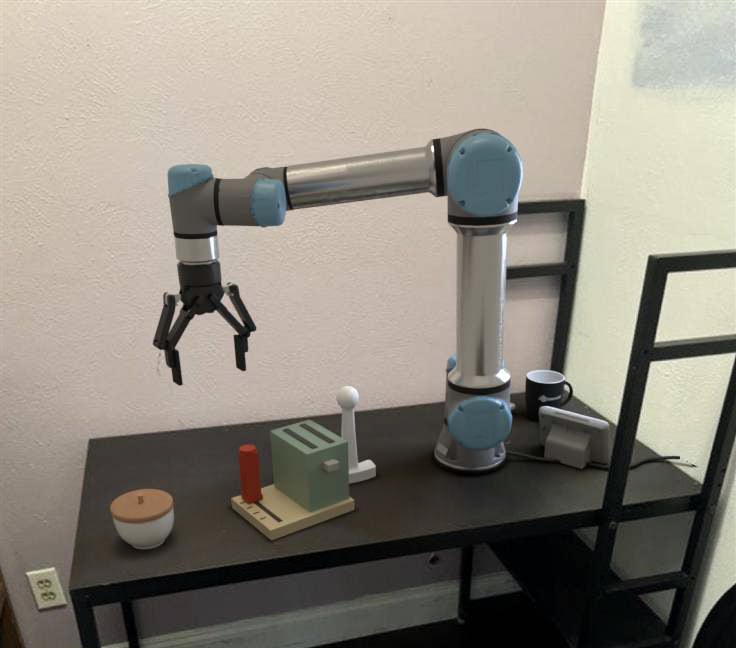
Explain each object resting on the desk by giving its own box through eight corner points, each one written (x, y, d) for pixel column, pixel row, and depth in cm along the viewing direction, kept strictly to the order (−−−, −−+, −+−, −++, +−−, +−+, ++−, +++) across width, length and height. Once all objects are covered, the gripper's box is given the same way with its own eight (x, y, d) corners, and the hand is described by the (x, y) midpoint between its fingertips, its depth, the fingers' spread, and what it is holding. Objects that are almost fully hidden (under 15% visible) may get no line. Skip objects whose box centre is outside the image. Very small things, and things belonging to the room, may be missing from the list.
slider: (241, 498, 149) (235, 447, 144) (255, 493, 151) (251, 442, 146) (248, 504, 147) (243, 452, 142) (263, 499, 149) (259, 448, 144)
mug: (531, 425, 184) (535, 384, 179) (516, 411, 192) (520, 371, 186) (578, 420, 186) (583, 380, 181) (561, 406, 194) (566, 367, 189)
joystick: (327, 487, 158) (323, 394, 148) (316, 471, 164) (311, 381, 154) (378, 478, 161) (378, 386, 151) (365, 463, 167) (364, 374, 157)
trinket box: (114, 559, 135) (104, 512, 131) (120, 527, 145) (111, 483, 140) (177, 553, 137) (170, 506, 132) (179, 522, 146) (172, 478, 141)
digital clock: (613, 464, 166) (621, 418, 160) (587, 477, 161) (594, 429, 156) (553, 440, 177) (558, 396, 171) (527, 451, 172) (531, 406, 166)
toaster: (231, 508, 151) (224, 440, 144) (312, 481, 160) (309, 416, 153) (273, 542, 140) (267, 471, 133) (357, 511, 149) (356, 443, 142)
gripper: (249, 248, 146) (257, 358, 157) (122, 265, 134) (140, 383, 145) (269, 255, 141) (276, 368, 152) (139, 274, 129) (156, 395, 139)
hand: (210, 376), depth 148 cm, fingers open, 12 cm apart
